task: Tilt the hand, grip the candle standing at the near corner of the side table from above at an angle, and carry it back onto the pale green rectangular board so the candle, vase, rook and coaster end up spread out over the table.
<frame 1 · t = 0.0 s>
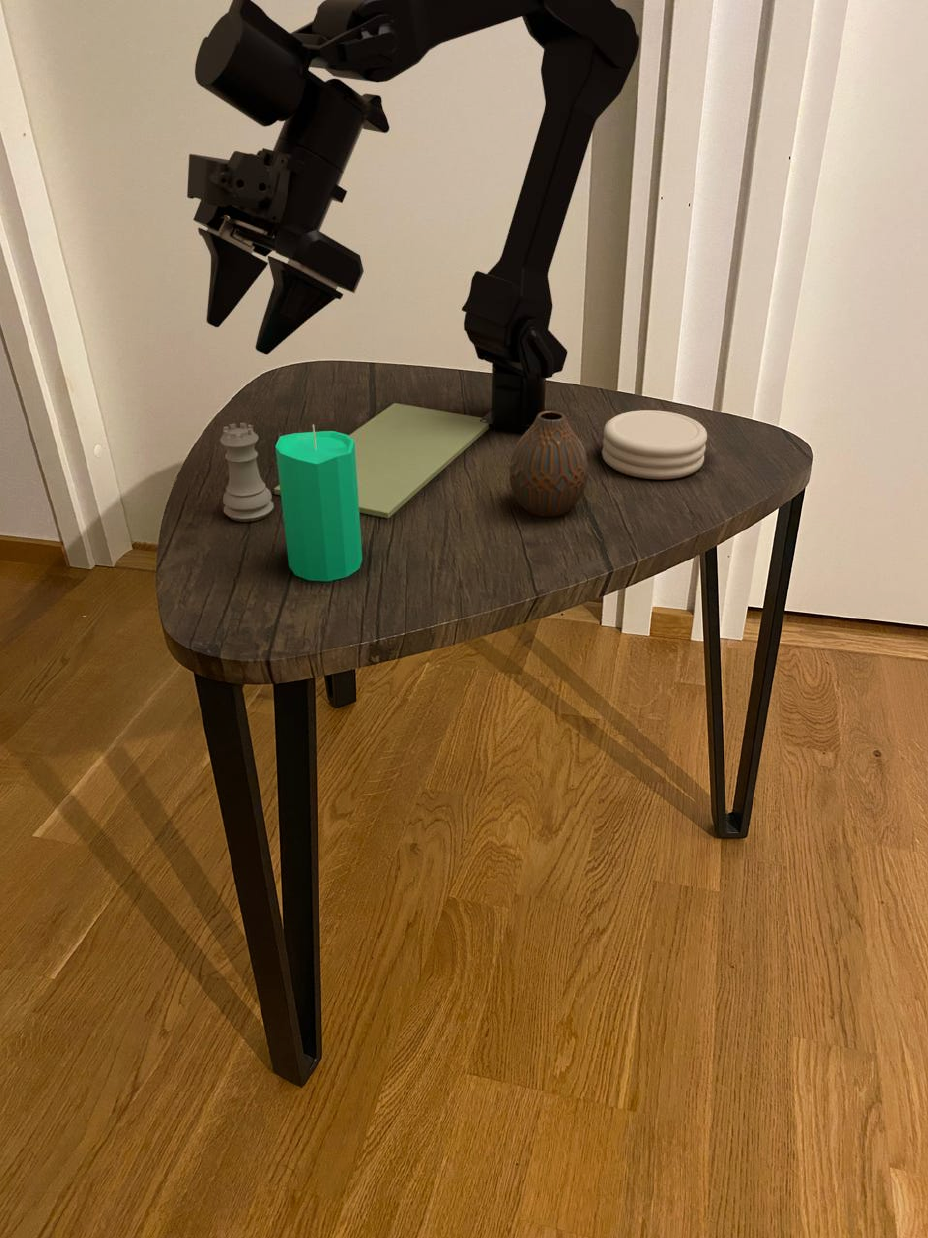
hand: (235, 338, 82), 15 cm above the table, tool tilted 35°, fingers open, 9 cm apart
pale green rectangular board: (391, 457, 98), on the table
rook chess piece: (249, 514, 88), on the table
candle: (326, 564, 81), on the table
coaster: (651, 462, 98), on the table
vase: (546, 508, 89), on the table
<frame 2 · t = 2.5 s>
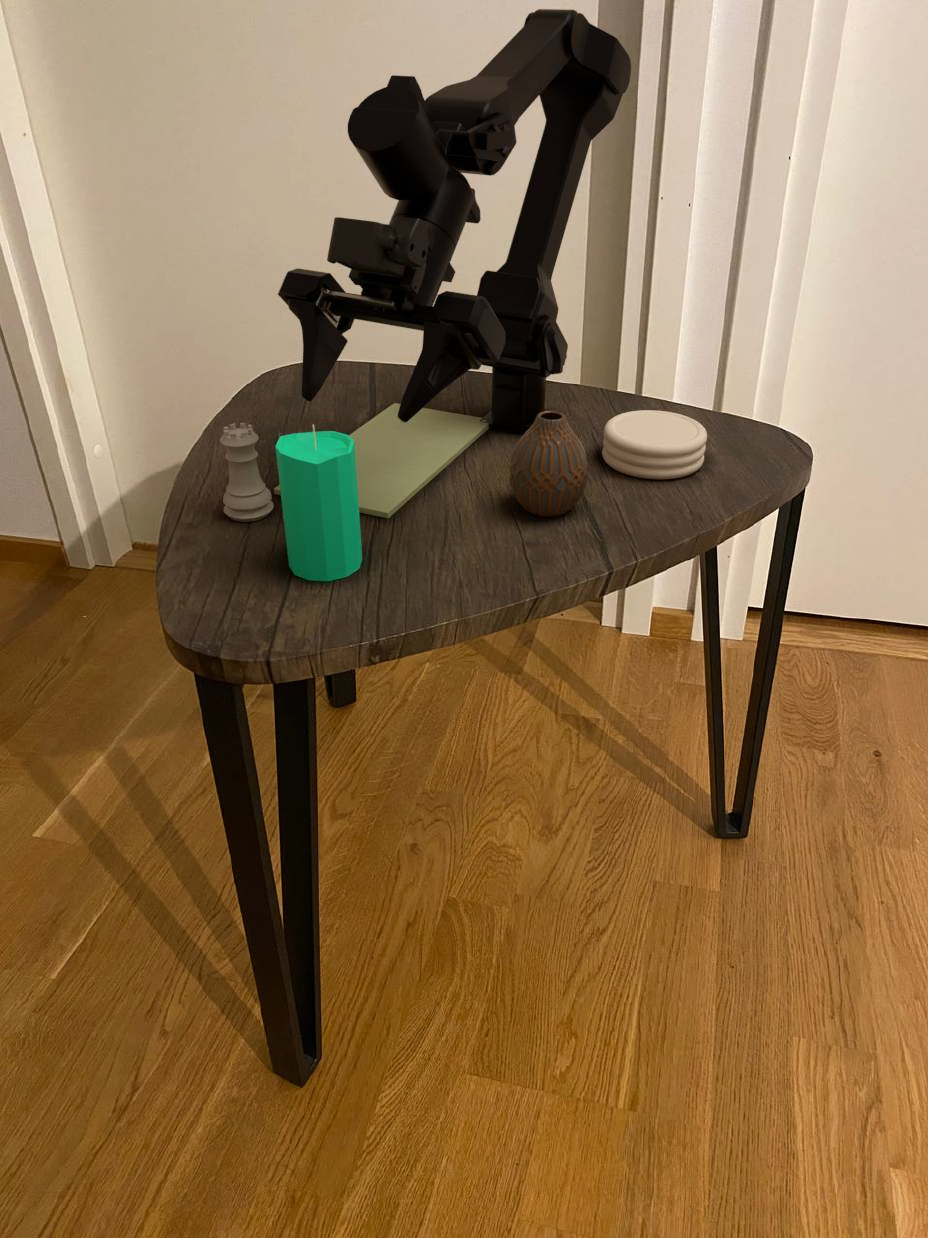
hand: (352, 409, 78), 12 cm above the table, tool tilted 45°, fingers open, 9 cm apart
nothing on the table moved.
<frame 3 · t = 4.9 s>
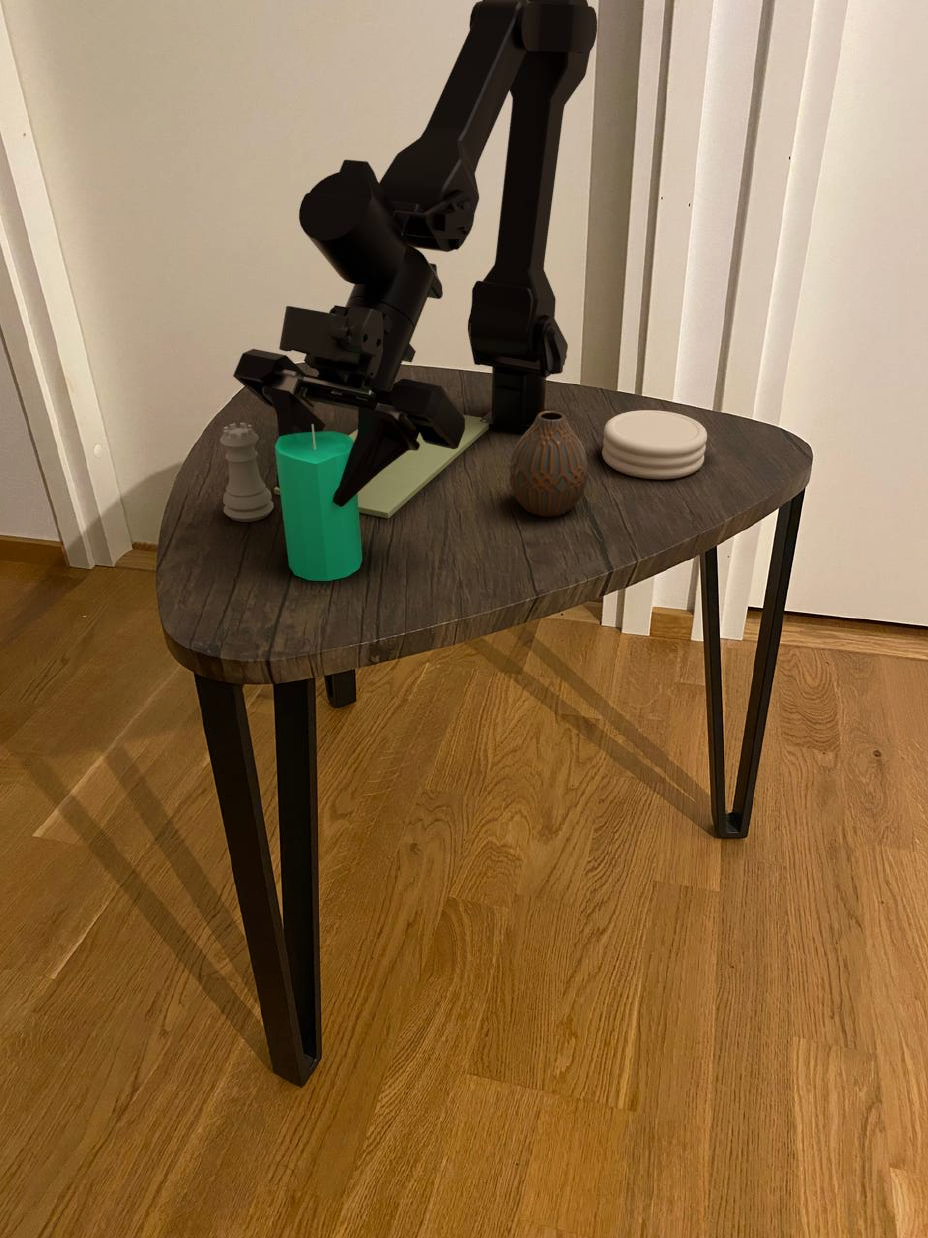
hand: (308, 496, 76), 7 cm above the table, tool tilted 45°, fingers closed on candle, 5 cm apart
candle: (326, 564, 81), on the table, touching gripper
everything else where it was.
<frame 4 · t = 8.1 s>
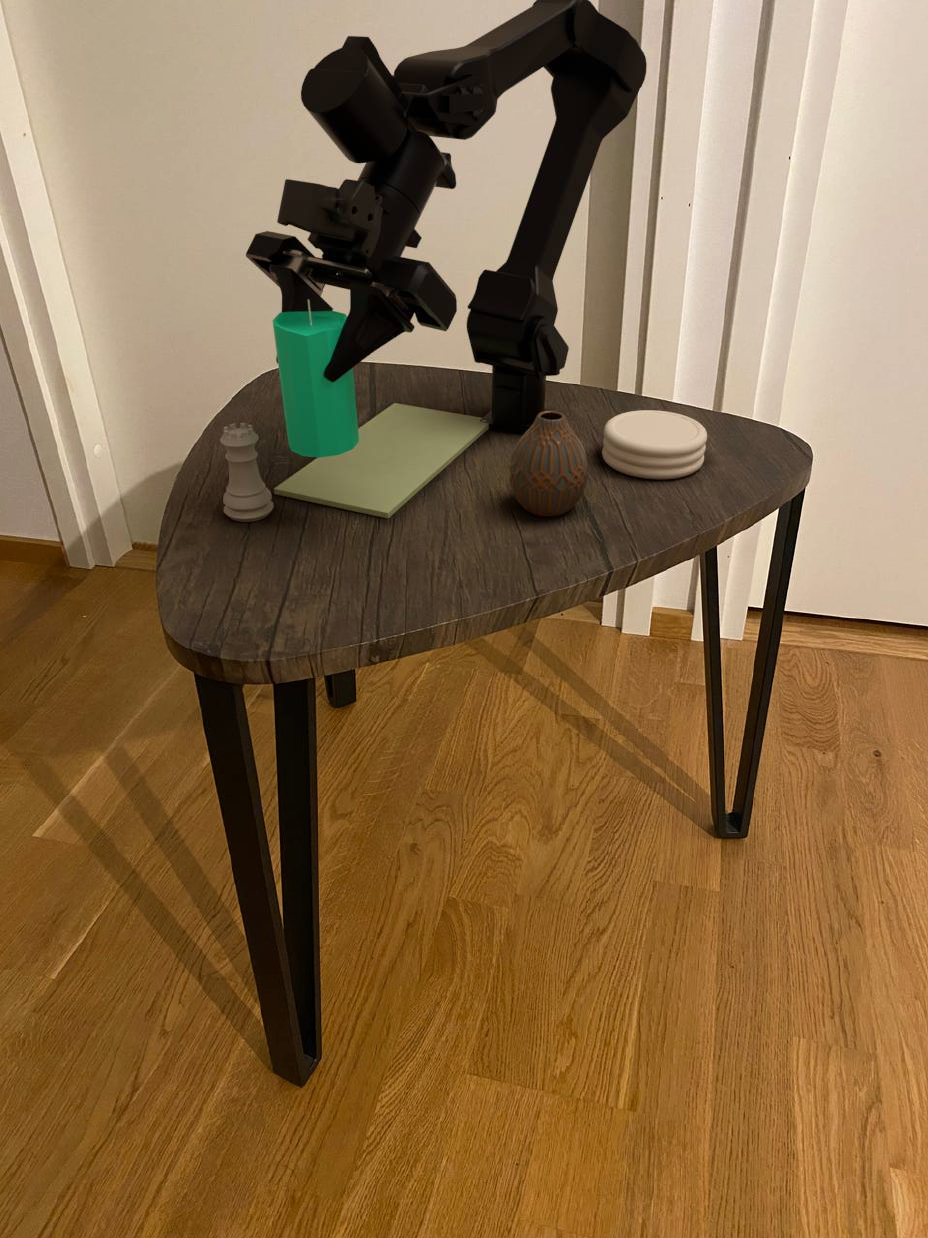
hand: (303, 372, 79), 14 cm above the table, tool tilted 45°, fingers closed on candle, 5 cm apart
candle: (324, 444, 83), point 7 cm above the table, touching gripper
everything else where it was.
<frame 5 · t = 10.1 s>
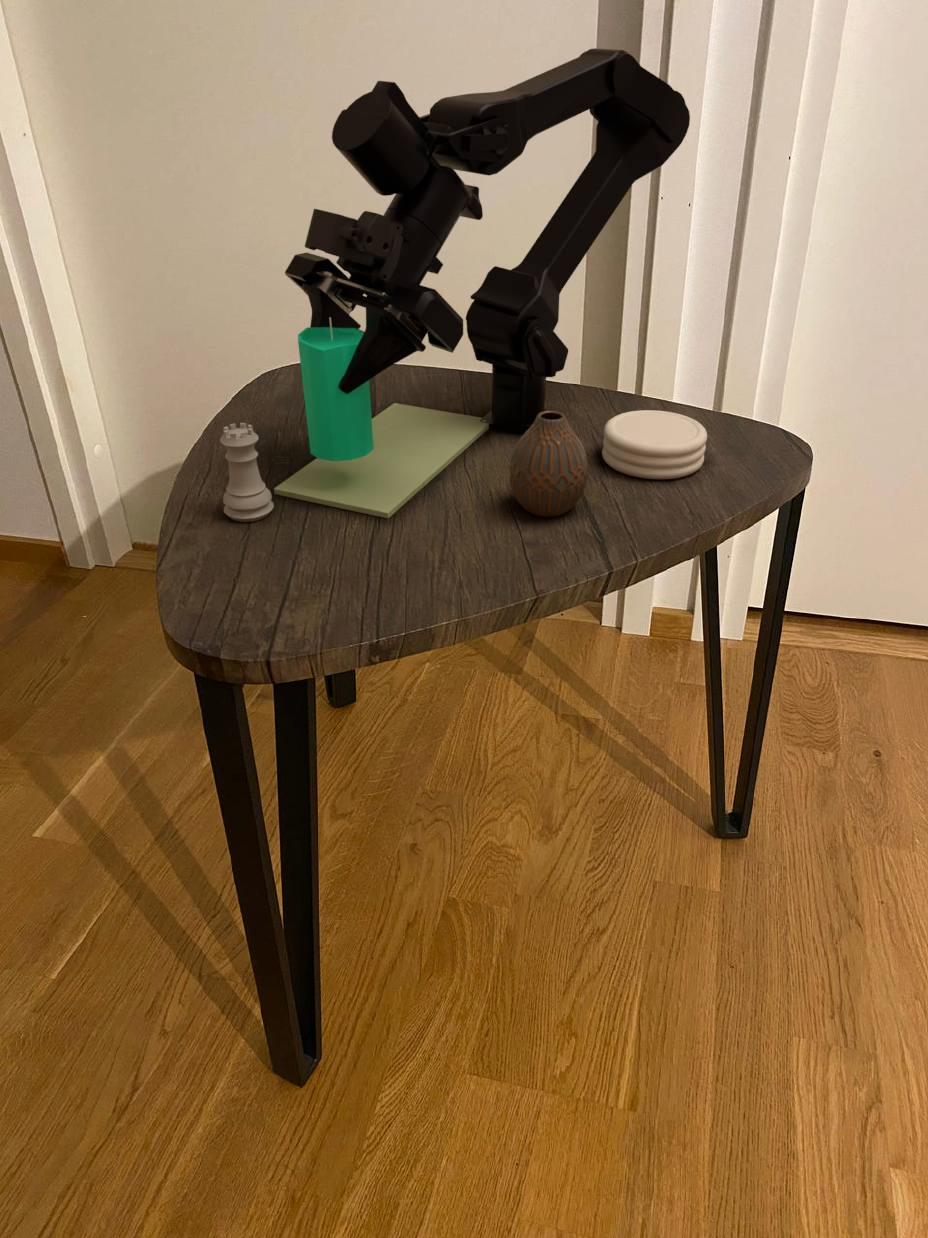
hand: (323, 383, 86), 10 cm above the table, tool tilted 45°, fingers closed on candle, 5 cm apart
candle: (342, 449, 91), point 4 cm above the table, touching gripper
everything else where it was.
when the fingers open (7 cm above the table, at t = 11.5 s): candle stays where it is, resting on pale green rectangular board.
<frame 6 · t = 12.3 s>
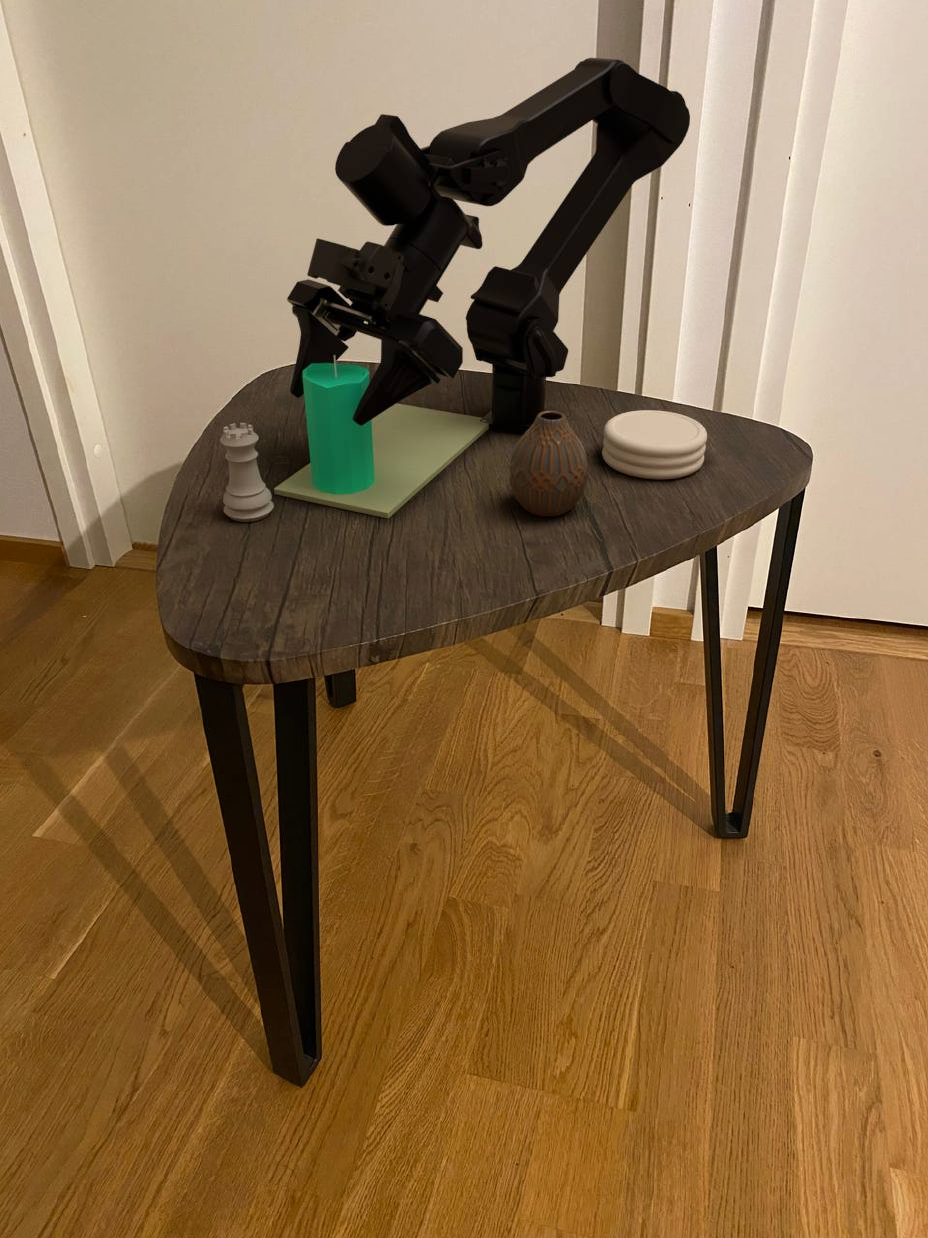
hand: (324, 408, 87), 8 cm above the table, tool tilted 45°, fingers open, 9 cm apart
candle: (344, 482, 92), resting on pale green rectangular board
everything else where it was.
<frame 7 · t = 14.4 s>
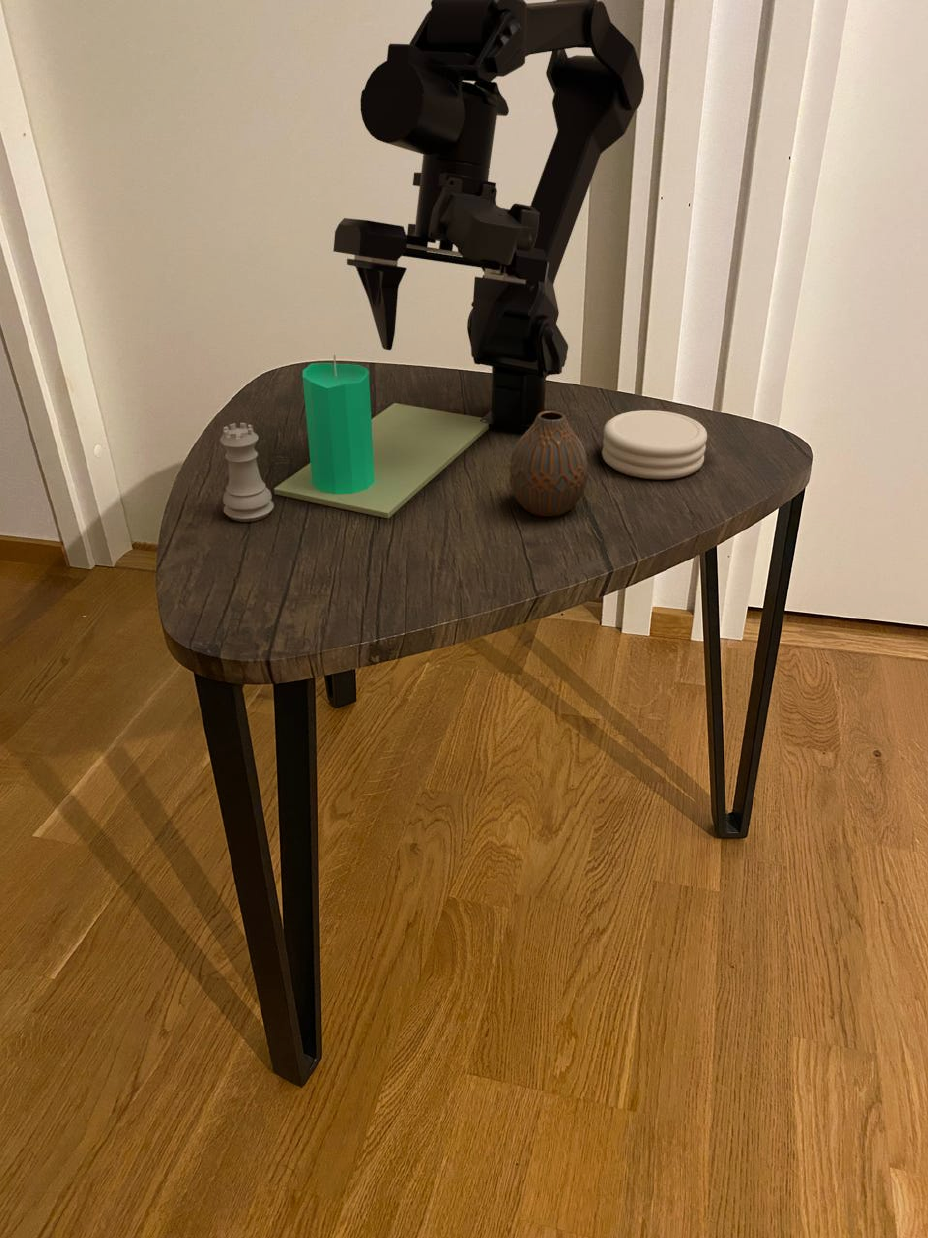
hand: (432, 353, 88), 12 cm above the table, tool tilted 15°, fingers open, 9 cm apart
nothing on the table moved.
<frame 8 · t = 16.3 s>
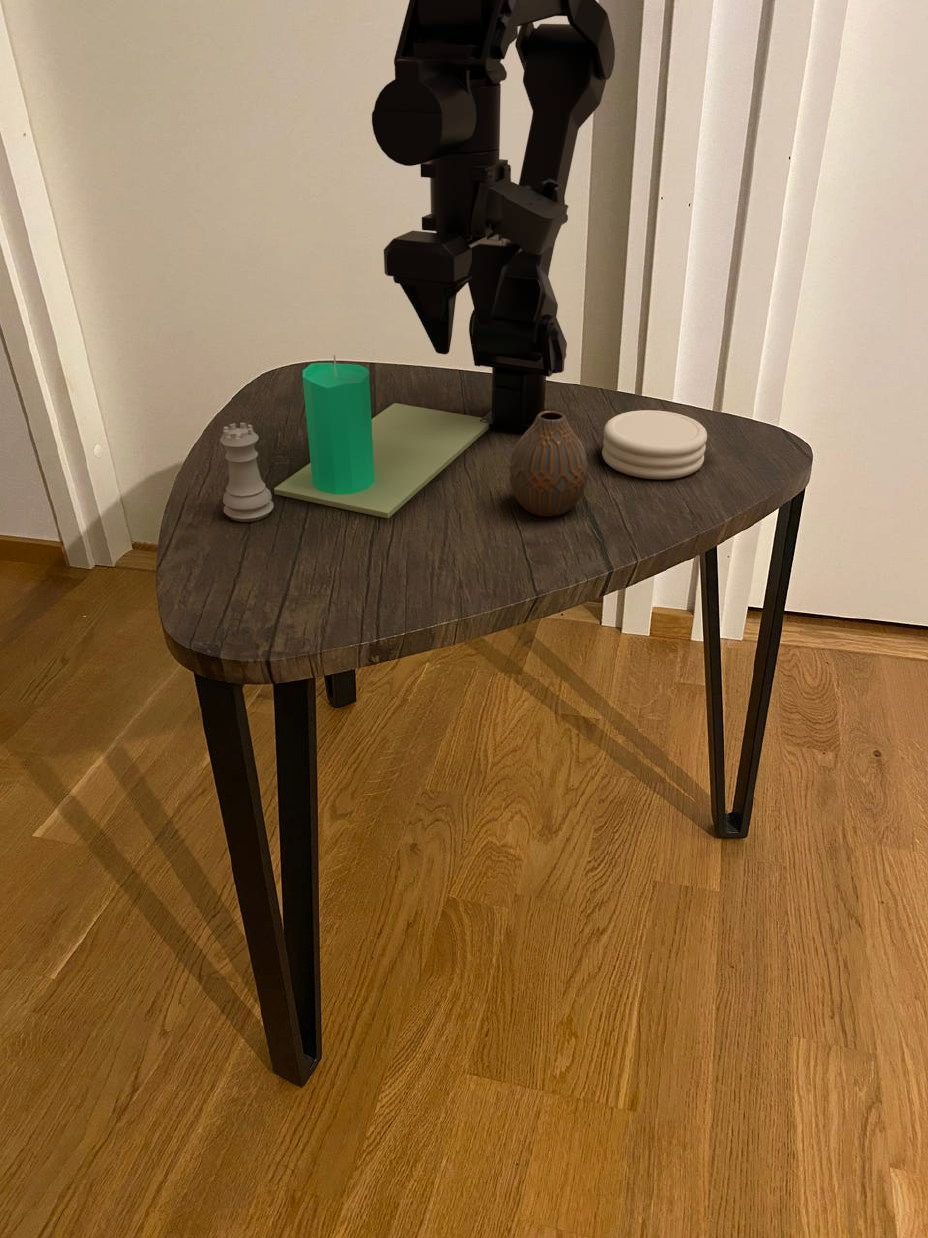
hand: (464, 338, 88), 13 cm above the table, tool pointing down, fingers open, 9 cm apart
nothing on the table moved.
at the end: candle inside the target area on the pale green rectangular board (7.9 cm from its centre), point 0.4 cm above the pale green rectangular board's base; candle tilted 0°; the gripper is holding nothing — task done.
